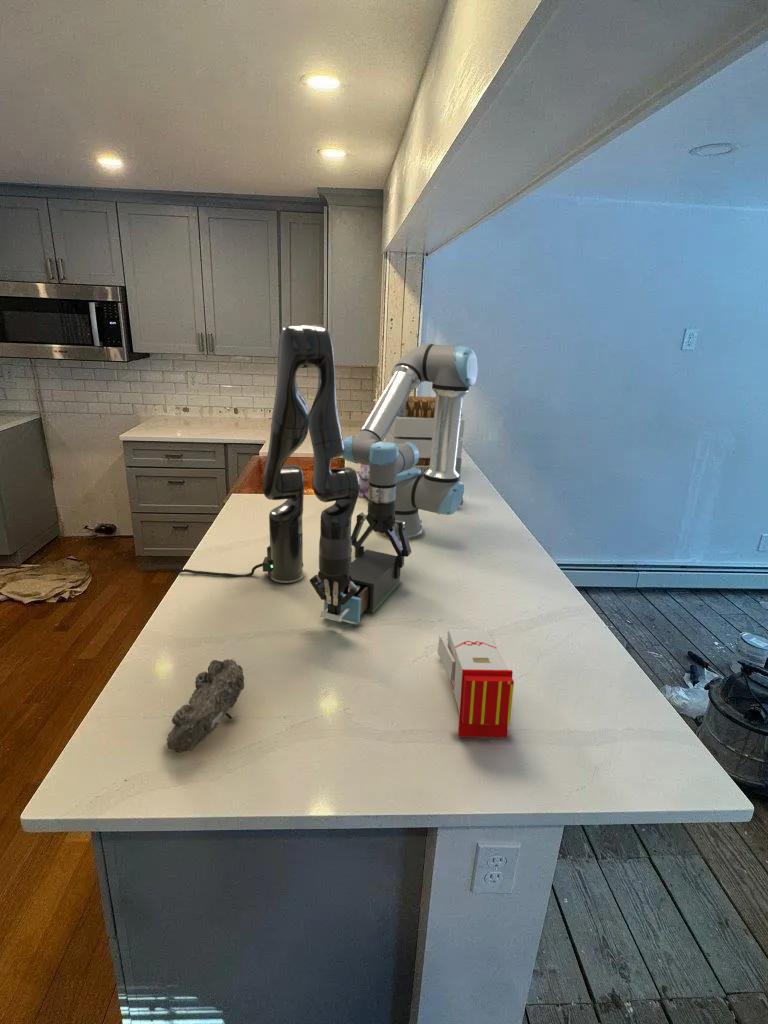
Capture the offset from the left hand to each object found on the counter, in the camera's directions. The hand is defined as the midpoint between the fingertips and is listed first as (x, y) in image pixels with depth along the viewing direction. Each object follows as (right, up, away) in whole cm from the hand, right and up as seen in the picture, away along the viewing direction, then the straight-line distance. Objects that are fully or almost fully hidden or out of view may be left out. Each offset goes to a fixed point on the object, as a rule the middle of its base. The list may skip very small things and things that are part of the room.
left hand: (334, 616), depth 138 cm
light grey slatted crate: (+29, +44, +137) cm, 147 cm away
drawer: (+4, 0, +9) cm, 10 cm away
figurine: (+5, +33, +102) cm, 107 cm away
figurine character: (+40, +28, +94) cm, 106 cm away
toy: (+30, -12, -20) cm, 38 cm away
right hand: (+11, +8, +24) cm, 27 cm away
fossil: (-21, -14, -30) cm, 39 cm away
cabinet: (+8, +3, +19) cm, 21 cm away
